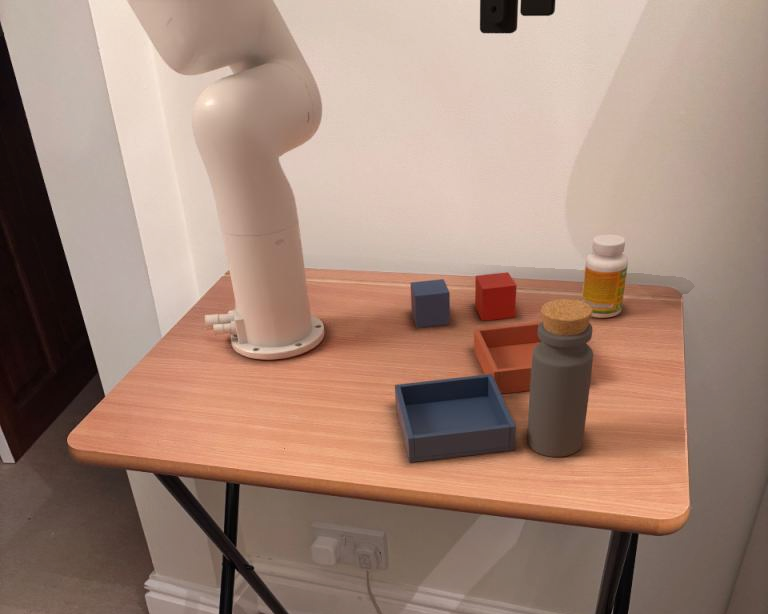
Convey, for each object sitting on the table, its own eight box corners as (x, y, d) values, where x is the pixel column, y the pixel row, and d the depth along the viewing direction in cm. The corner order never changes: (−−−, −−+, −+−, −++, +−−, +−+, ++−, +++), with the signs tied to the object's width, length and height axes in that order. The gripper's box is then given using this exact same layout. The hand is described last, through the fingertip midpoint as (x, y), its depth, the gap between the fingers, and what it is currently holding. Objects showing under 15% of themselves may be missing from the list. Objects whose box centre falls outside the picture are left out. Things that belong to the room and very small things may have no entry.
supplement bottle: (621, 319, 103) (632, 247, 97) (580, 318, 104) (587, 246, 98) (620, 302, 107) (630, 232, 101) (580, 301, 108) (587, 231, 102)
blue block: (416, 328, 105) (415, 296, 102) (411, 314, 109) (410, 282, 106) (450, 324, 105) (449, 292, 102) (444, 310, 109) (443, 278, 106)
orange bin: (493, 394, 90) (493, 371, 88) (473, 350, 99) (474, 328, 97) (587, 384, 91) (590, 361, 89) (559, 341, 100) (561, 319, 98)
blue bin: (409, 462, 81) (408, 438, 79) (395, 407, 90) (394, 384, 88) (514, 450, 81) (516, 426, 80) (491, 396, 90) (492, 373, 88)
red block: (481, 321, 105) (482, 288, 103) (475, 307, 109) (475, 275, 106) (515, 317, 106) (516, 285, 103) (507, 303, 109) (508, 271, 106)
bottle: (583, 459, 79) (600, 323, 70) (525, 456, 80) (534, 321, 71) (582, 427, 84) (597, 296, 74) (527, 425, 85) (536, 295, 75)
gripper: (521, -228, 66) (513, 9, 77) (434, -241, 55) (439, 40, 65) (609, -240, 63) (588, 9, 74) (537, -257, 52) (524, 40, 62)
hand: (518, 23), depth 70 cm, fingers open, 9 cm apart
